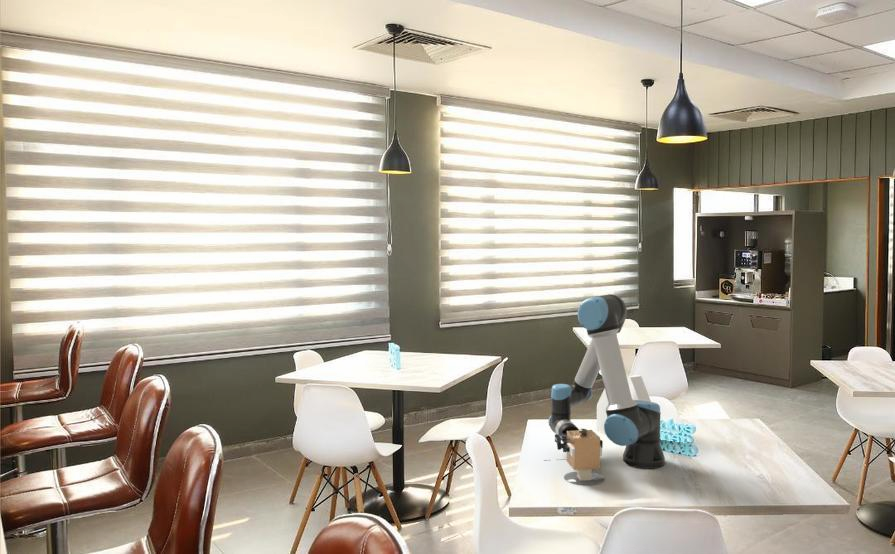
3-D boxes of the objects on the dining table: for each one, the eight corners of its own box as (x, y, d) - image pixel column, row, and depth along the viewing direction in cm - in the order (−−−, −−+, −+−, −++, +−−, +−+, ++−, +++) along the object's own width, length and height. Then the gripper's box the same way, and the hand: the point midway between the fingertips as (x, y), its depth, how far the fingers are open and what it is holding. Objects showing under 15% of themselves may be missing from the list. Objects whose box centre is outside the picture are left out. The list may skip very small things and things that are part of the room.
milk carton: (596, 431, 295) (596, 374, 294) (625, 426, 302) (625, 371, 300) (624, 443, 278) (625, 383, 276) (654, 438, 284) (654, 379, 282)
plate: (606, 476, 240) (606, 473, 240) (602, 490, 227) (602, 487, 227) (567, 472, 245) (567, 469, 245) (561, 486, 232) (561, 483, 231)
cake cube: (587, 475, 238) (587, 464, 238) (591, 479, 234) (591, 468, 234) (576, 476, 238) (576, 465, 237) (580, 480, 234) (580, 469, 233)
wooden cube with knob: (591, 460, 241) (591, 425, 240) (599, 469, 232) (600, 433, 231) (566, 461, 240) (567, 426, 239) (574, 470, 231) (574, 434, 230)
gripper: (595, 441, 255) (617, 461, 233) (539, 443, 252) (556, 464, 230) (596, 421, 254) (618, 440, 232) (539, 423, 252) (556, 442, 230)
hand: (587, 452), depth 231 cm, fingers closed on wooden cube with knob, 9 cm apart
